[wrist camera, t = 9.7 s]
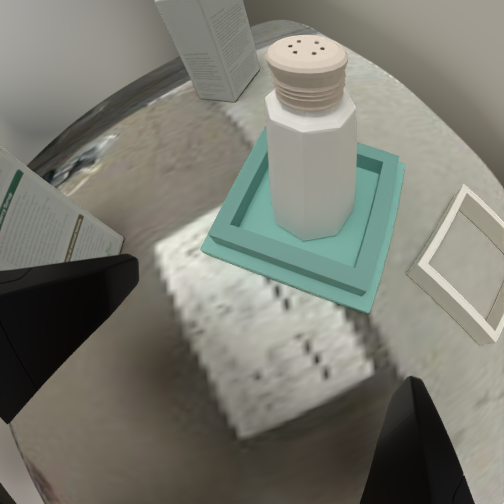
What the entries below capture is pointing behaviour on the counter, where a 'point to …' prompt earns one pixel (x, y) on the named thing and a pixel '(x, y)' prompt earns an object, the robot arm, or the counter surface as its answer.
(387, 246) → the teal square tray
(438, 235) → the white square tray
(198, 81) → the skincare box
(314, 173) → the pepper shaker
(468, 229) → the counter surface
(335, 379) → the counter surface
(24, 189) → the syrup box
